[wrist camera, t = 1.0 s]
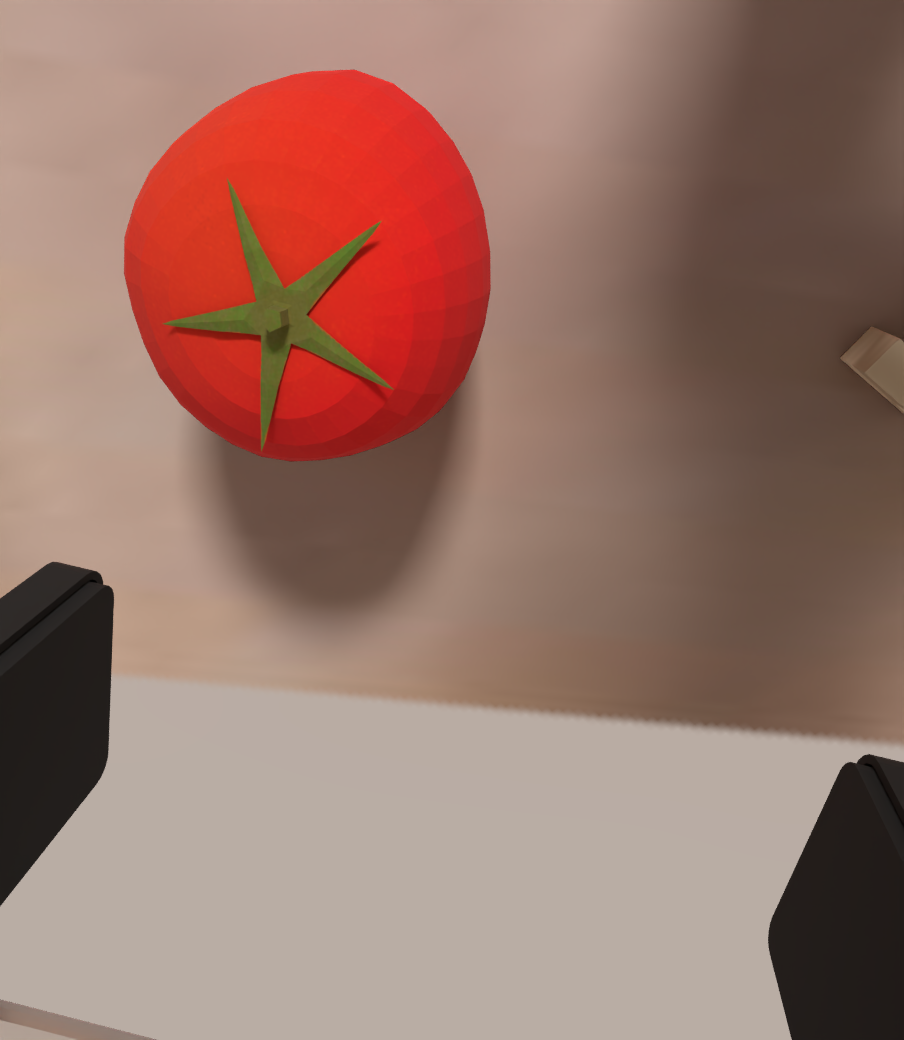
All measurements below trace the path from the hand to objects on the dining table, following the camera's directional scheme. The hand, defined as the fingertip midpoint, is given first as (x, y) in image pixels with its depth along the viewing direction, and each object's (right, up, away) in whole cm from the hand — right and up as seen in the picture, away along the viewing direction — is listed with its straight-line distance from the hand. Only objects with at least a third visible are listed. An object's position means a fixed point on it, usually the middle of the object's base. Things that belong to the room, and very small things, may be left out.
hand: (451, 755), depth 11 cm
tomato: (-3, +13, +24) cm, 28 cm away
